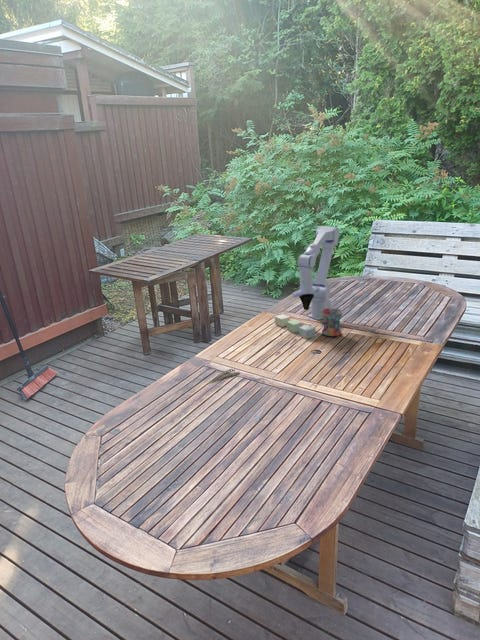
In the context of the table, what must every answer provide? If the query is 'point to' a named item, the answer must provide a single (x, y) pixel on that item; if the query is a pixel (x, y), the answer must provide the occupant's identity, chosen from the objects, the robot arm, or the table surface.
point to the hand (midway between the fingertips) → (306, 309)
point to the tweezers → (223, 376)
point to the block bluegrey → (307, 331)
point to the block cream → (281, 320)
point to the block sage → (293, 325)
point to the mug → (331, 321)
